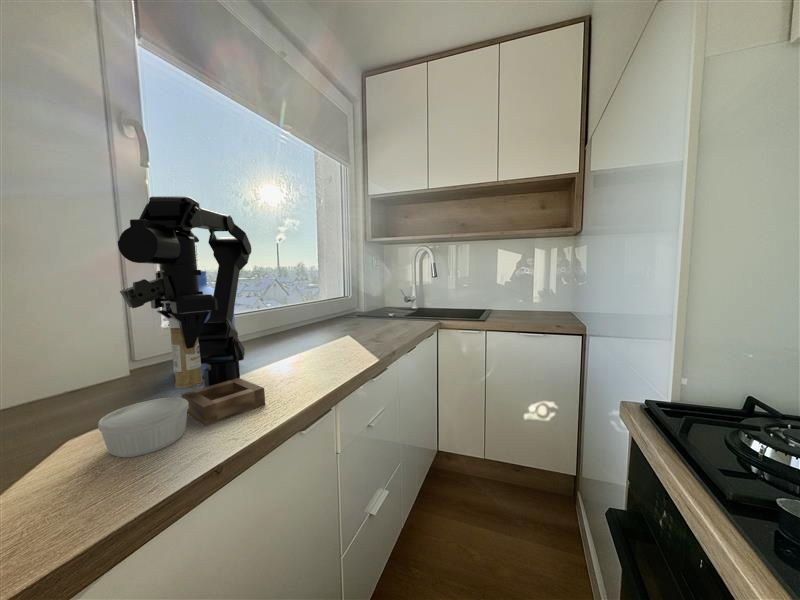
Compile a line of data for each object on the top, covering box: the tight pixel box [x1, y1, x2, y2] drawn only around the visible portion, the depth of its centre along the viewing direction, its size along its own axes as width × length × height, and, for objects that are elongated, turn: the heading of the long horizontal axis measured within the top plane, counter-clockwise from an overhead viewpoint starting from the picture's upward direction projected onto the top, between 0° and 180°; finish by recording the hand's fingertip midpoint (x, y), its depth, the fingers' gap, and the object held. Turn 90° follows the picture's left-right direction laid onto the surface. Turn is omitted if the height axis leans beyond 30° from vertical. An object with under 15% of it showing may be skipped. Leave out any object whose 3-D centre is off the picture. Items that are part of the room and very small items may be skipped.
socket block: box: [181, 377, 266, 427], centre depth 62 cm, size 11×11×4 cm
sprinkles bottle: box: [168, 317, 204, 389], centre depth 60 cm, size 5×5×13 cm
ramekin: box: [97, 396, 189, 458], centre depth 50 cm, size 11×11×5 cm
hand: (186, 346), depth 60 cm, fingers closed on sprinkles bottle, 4 cm apart
